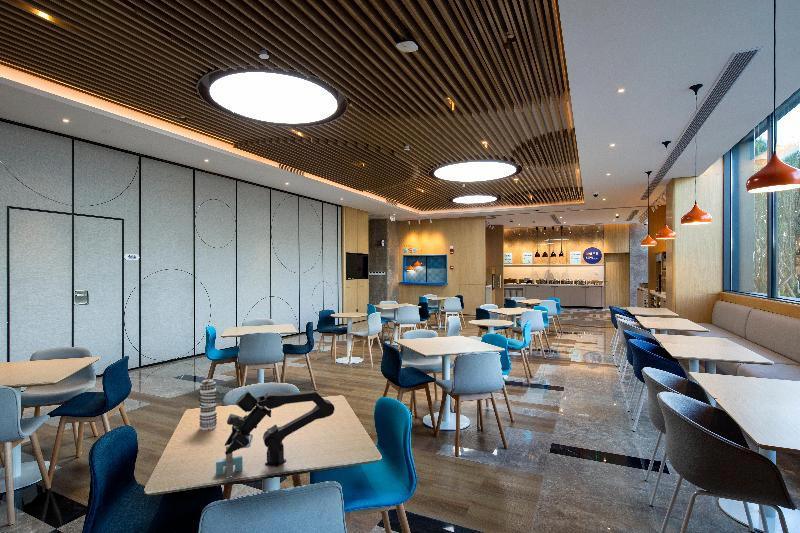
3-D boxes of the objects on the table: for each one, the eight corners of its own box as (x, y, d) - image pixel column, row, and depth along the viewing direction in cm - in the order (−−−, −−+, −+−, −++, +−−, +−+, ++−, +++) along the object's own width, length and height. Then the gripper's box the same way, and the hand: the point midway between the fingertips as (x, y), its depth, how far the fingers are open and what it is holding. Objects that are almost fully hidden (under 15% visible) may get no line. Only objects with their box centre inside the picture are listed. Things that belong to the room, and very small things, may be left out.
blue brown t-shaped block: (242, 467, 177) (241, 442, 178) (242, 470, 175) (242, 444, 175) (216, 472, 173) (215, 446, 174) (216, 475, 171) (215, 448, 171)
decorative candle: (201, 431, 221) (201, 383, 221) (196, 427, 228) (196, 380, 228) (219, 427, 227) (219, 380, 227) (214, 422, 234) (213, 377, 234)
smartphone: (233, 448, 197) (237, 435, 212) (233, 450, 197) (237, 437, 212) (250, 446, 199) (252, 434, 214) (250, 448, 199) (253, 435, 214)
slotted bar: (225, 466, 179) (225, 454, 179) (232, 464, 180) (232, 453, 180) (226, 478, 168) (226, 465, 168) (233, 476, 169) (233, 464, 169)
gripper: (238, 401, 185) (210, 430, 180) (240, 413, 168) (209, 446, 163) (257, 416, 188) (230, 446, 183) (261, 430, 171) (231, 463, 166)
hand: (225, 449), depth 174 cm, fingers open, 9 cm apart
